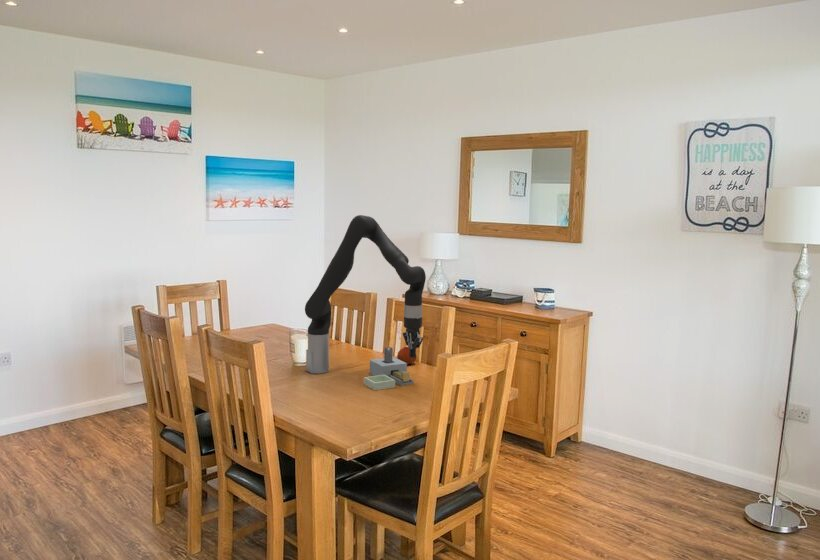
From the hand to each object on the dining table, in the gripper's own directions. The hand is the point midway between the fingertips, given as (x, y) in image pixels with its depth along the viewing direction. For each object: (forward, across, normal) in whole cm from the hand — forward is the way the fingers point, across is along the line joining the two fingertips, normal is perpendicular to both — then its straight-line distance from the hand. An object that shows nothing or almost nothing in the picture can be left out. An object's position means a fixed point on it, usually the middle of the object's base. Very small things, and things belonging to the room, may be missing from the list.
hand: (412, 357), depth 264 cm
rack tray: (+12, -8, -11) cm, 18 cm away
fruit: (+13, -34, +17) cm, 40 cm away
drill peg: (+12, -21, 0) cm, 24 cm away
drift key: (+11, -9, 0) cm, 14 cm away
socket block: (+12, -15, 0) cm, 20 cm away
